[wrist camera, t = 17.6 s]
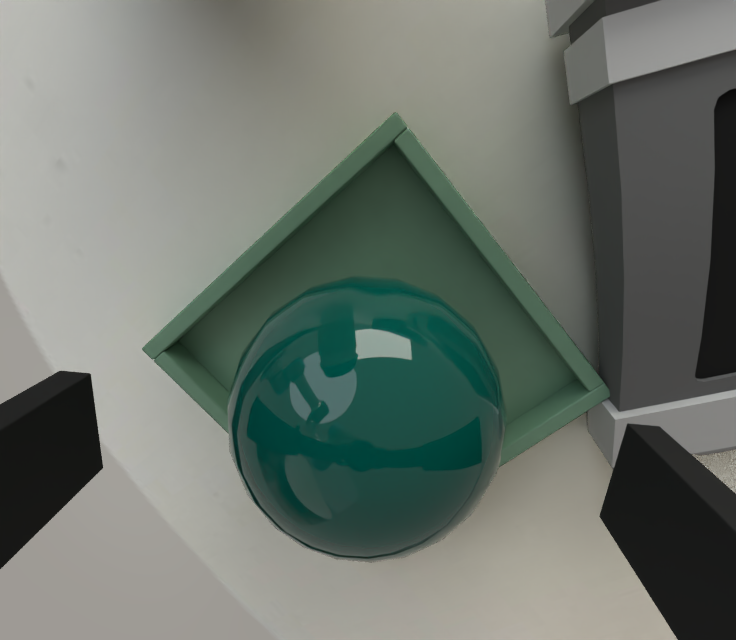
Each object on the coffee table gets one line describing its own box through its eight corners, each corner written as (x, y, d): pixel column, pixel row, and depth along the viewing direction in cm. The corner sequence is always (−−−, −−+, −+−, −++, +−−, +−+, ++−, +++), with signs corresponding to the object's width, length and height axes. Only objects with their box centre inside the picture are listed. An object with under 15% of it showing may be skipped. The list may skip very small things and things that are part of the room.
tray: (163, 335, 17) (140, 349, 16) (395, 118, 14) (395, 110, 13) (359, 530, 20) (356, 558, 18) (594, 376, 17) (614, 395, 15)
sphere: (289, 234, 15) (183, 277, 8) (505, 282, 15) (612, 373, 8) (259, 424, 18) (156, 601, 10) (446, 466, 18) (484, 674, 10)
